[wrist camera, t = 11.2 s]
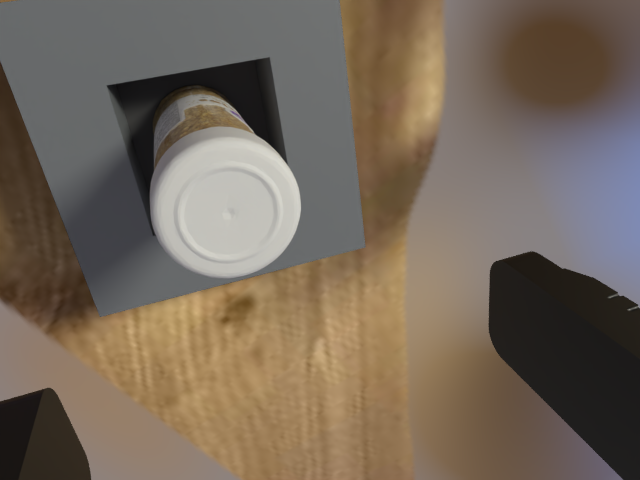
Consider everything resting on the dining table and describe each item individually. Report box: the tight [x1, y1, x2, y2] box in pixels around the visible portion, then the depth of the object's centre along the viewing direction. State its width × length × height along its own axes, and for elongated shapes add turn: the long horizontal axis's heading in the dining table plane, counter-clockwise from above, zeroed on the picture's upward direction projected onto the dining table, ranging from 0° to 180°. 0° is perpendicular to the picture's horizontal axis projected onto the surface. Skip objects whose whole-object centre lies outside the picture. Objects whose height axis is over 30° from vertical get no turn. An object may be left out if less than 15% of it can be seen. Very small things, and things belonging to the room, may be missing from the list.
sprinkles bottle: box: [150, 85, 301, 278], centre depth 21 cm, size 5×5×14 cm
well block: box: [0, 0, 365, 317], centre depth 26 cm, size 14×14×5 cm
